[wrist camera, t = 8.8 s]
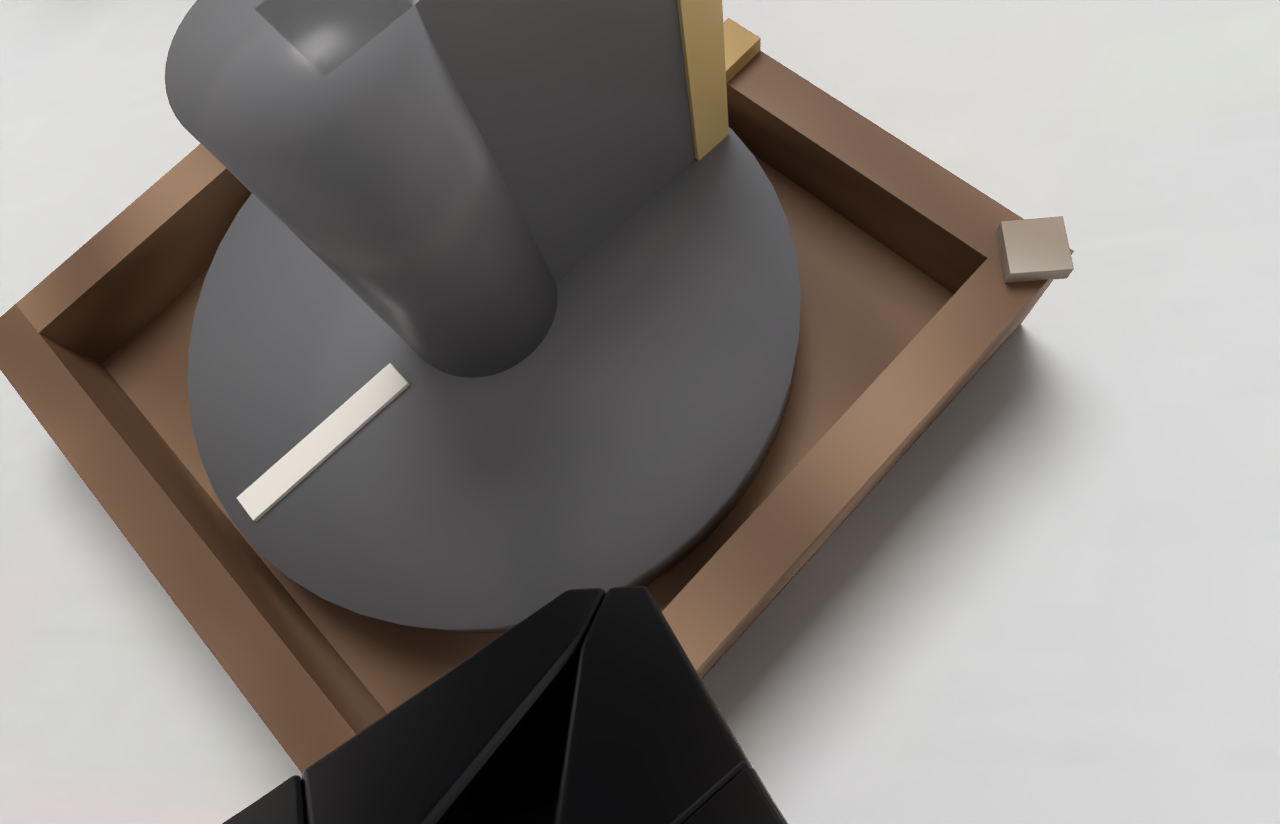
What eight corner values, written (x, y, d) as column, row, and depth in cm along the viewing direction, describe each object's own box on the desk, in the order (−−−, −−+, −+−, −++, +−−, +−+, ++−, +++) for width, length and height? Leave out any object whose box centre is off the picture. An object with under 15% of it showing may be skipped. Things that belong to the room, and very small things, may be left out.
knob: (456, 782, 17) (95, 902, 8) (129, 341, 21) (-336, 88, 12) (930, 319, 18) (1097, -33, 9) (532, 5, 23) (387, -431, 14)
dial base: (507, 913, 17) (438, 976, 14) (88, 387, 23) (-39, 331, 19) (1036, 321, 20) (1100, 239, 16) (539, -18, 25) (502, -135, 22)
